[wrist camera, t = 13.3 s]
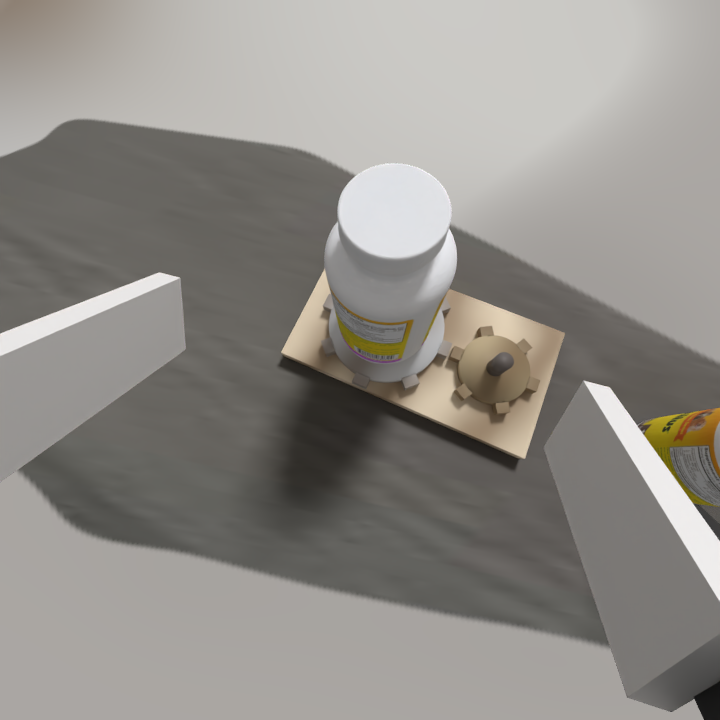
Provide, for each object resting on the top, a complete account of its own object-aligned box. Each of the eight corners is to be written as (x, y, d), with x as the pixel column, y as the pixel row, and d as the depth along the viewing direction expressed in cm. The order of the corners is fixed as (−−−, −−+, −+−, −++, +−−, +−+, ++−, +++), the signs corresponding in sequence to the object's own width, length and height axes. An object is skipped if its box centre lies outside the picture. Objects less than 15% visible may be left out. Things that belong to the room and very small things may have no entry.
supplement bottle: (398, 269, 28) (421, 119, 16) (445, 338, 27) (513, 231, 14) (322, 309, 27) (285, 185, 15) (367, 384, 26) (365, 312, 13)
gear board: (284, 356, 28) (271, 340, 25) (337, 252, 31) (333, 224, 27) (519, 458, 26) (543, 458, 22) (558, 337, 28) (586, 319, 25)
